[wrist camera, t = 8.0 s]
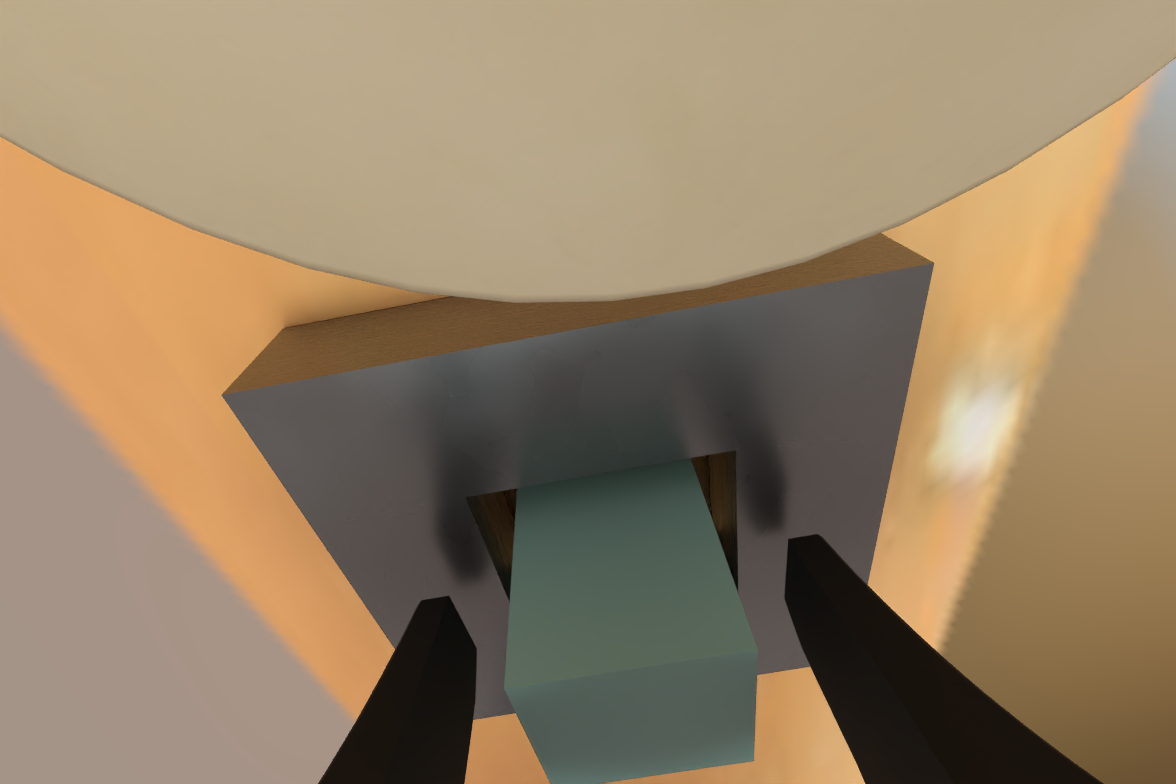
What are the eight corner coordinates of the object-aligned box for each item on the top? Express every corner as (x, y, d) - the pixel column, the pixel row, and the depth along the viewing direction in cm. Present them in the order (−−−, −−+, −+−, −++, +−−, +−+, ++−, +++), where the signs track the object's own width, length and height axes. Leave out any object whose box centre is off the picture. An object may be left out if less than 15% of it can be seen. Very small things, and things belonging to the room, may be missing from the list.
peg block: (685, 527, 15) (753, 760, 10) (551, 549, 15) (553, 790, 10) (677, 419, 13) (757, 650, 8) (519, 445, 13) (503, 689, 8)
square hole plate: (814, 585, 17) (851, 659, 15) (458, 643, 18) (446, 724, 16) (857, 219, 11) (934, 263, 8) (283, 328, 11) (221, 394, 9)
